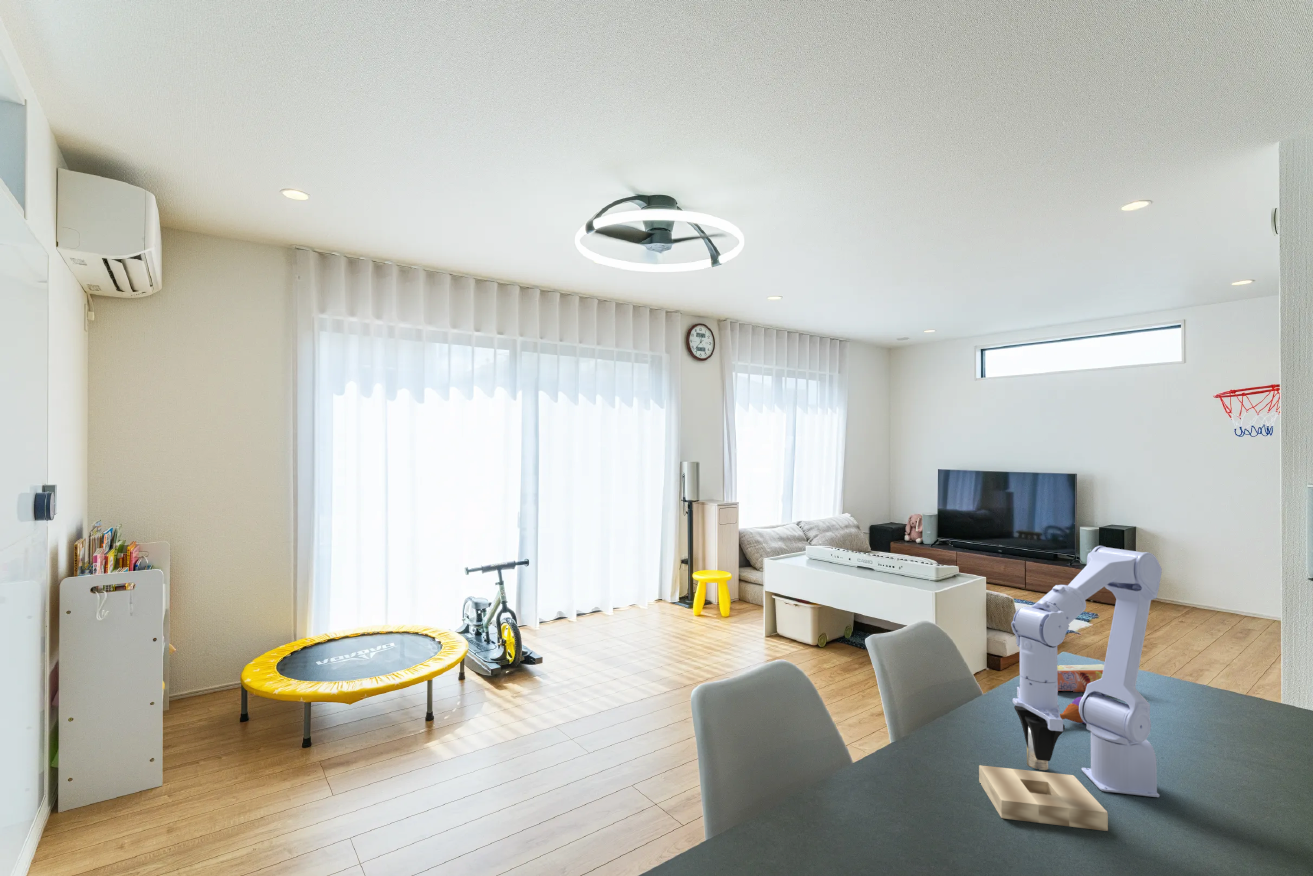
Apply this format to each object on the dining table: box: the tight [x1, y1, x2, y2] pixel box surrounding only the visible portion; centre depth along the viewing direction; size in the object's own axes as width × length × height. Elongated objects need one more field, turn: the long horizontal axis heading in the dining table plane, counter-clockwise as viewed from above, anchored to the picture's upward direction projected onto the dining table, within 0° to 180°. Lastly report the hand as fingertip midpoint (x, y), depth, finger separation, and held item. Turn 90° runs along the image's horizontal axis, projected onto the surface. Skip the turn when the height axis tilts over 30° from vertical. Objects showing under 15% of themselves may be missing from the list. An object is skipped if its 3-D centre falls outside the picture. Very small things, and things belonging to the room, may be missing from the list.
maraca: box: [1060, 696, 1087, 725], centre depth 140 cm, size 6×6×20 cm
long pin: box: [1028, 726, 1049, 771], centre depth 108 cm, size 3×3×7 cm
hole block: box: [978, 765, 1109, 832], centre depth 108 cm, size 16×12×3 cm
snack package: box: [1057, 663, 1104, 693], centre depth 162 cm, size 21×7×7 cm, turn 91°
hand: (1038, 754), depth 108 cm, fingers closed on long pin, 3 cm apart
